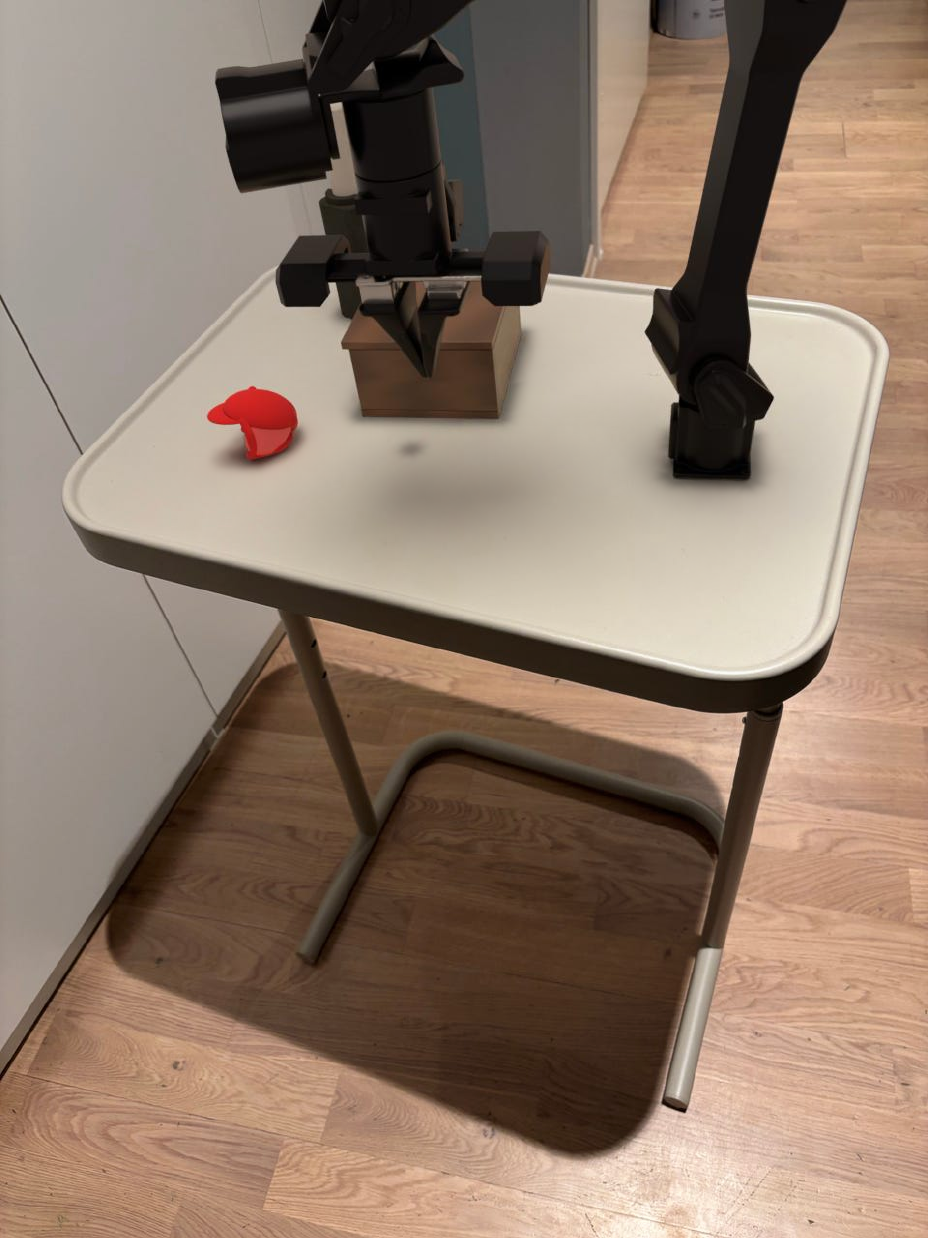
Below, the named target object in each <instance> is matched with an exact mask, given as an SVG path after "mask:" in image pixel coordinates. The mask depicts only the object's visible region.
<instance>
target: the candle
mask: <svg viewBox="0 0 928 1238" xmlns="http://www.w3.org/2000/svg"><path fill="white" fill-rule="evenodd" d="M330 106H331V111H332V116H333V121H334V127H335V132H336V137H337V142H338V148H339V153H340V158H341V159H335V160H333V159H332V158H331V163H332V168H333V171H327V172H328V176H329V181H330V186H331V188H329V187H328V188H327V189H326V190H325V191H324V197H322V198H320V199H319V200H318V207H319V211H320V216H321V221H322V225H323V231H324V235H344V237H345V238H346V239H347V240H348V241H349V245H350V250H351V253H369V252H368V246H367V241H366V235H365V229H364V224H363V218H362V215H356V211H355V205H354V198H355V197H356V195H357V193H358V191H357V185H356V180H355V174H354V169H353V163H352V158H351V152H350V147H349V141H348V136H347V130H346V125H345V119H344V114H343V108H342V103H341V102H340V103H334V104H330ZM335 287H336V291H337V292H336V293H337V296H338V297H337V298H338V301H339V306H340V311H341V315H342V317H344V318H347V319H351V320H352V319H353V317H354V315H355V313H356V311H357V309H358V308H359V306H360V304H361V302H362V300H361V295H360V290H359V287H358V286H356V282H352V283H335Z"/></svg>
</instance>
